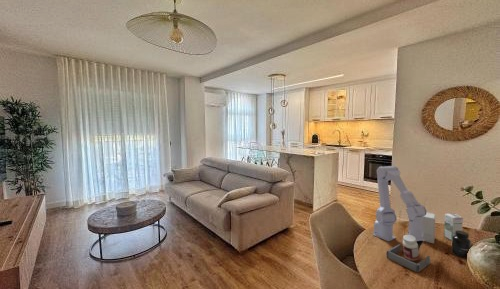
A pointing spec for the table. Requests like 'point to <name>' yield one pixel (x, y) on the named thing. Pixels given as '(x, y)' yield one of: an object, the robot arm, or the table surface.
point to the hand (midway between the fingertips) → (414, 253)
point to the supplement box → (429, 227)
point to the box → (411, 265)
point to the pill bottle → (410, 247)
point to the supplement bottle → (461, 244)
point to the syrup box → (452, 225)
